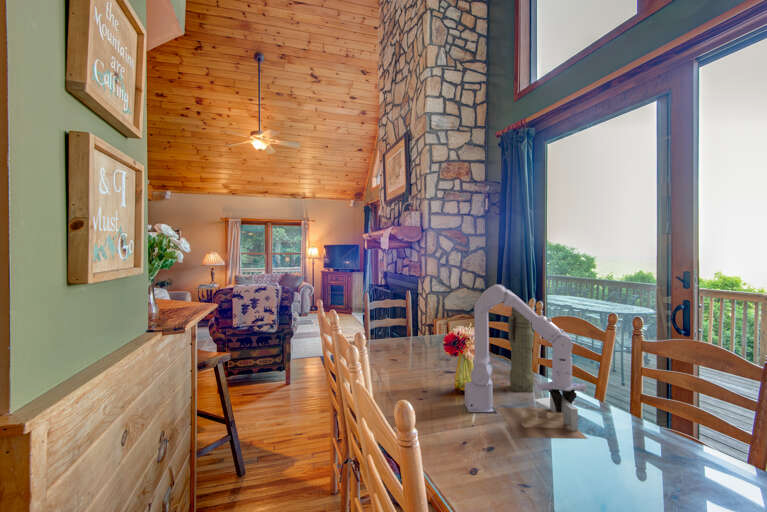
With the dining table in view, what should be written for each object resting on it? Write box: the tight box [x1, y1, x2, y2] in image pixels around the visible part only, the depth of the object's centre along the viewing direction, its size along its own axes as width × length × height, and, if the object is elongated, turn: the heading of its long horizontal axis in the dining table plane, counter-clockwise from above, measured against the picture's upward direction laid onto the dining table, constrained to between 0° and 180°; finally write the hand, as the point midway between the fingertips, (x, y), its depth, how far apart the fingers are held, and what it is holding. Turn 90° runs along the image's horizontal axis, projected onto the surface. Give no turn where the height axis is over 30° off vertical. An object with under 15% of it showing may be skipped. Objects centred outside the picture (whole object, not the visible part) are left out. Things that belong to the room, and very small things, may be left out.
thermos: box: [507, 301, 535, 394], centre depth 141 cm, size 9×12×35 cm
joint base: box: [497, 407, 588, 440], centre depth 111 cm, size 20×20×5 cm
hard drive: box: [534, 396, 576, 409], centre depth 127 cm, size 2×8×12 cm
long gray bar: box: [549, 393, 579, 431], centre depth 113 cm, size 2×15×6 cm, turn 177°
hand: (562, 412), depth 113 cm, fingers closed on long gray bar, 2 cm apart
